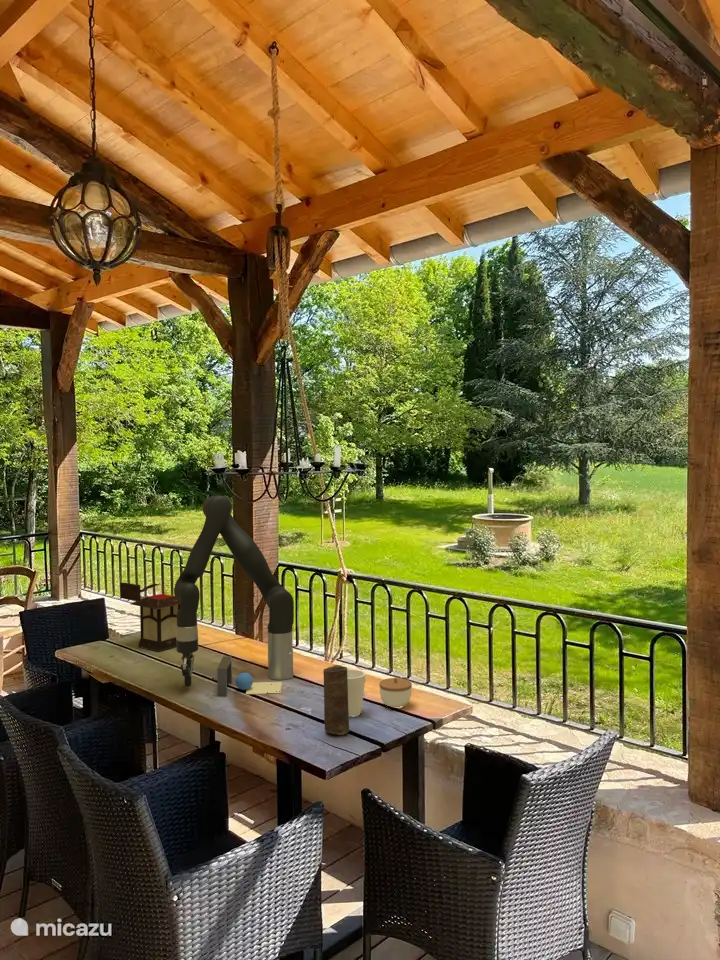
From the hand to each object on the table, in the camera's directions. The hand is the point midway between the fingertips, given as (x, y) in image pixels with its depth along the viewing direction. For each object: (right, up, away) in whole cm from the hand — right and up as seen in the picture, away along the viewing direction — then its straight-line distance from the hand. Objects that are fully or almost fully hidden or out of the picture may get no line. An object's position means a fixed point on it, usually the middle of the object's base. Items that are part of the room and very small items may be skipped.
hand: (188, 685), depth 252 cm
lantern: (-28, 0, +55) cm, 61 cm away
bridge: (+13, -1, +1) cm, 13 cm away
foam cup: (+58, -2, -24) cm, 63 cm away
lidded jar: (+73, -2, -17) cm, 75 cm away
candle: (+54, -3, -39) cm, 67 cm away
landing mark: (+27, -1, +1) cm, 27 cm away
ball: (+20, +2, 0) cm, 20 cm away
